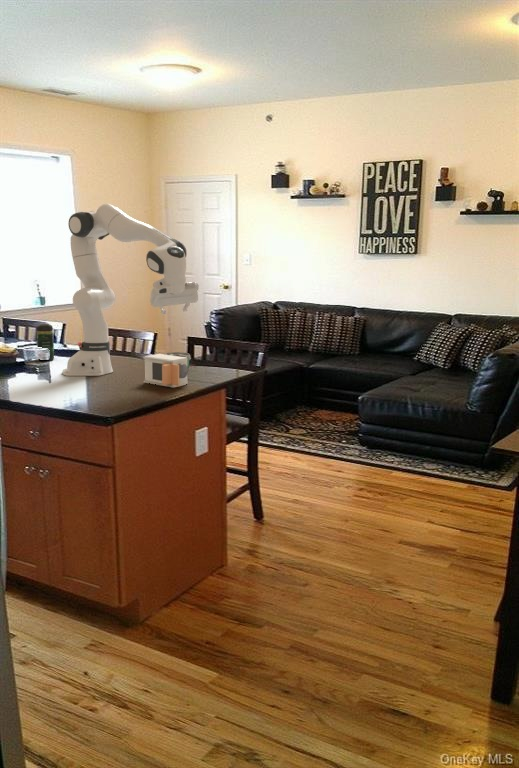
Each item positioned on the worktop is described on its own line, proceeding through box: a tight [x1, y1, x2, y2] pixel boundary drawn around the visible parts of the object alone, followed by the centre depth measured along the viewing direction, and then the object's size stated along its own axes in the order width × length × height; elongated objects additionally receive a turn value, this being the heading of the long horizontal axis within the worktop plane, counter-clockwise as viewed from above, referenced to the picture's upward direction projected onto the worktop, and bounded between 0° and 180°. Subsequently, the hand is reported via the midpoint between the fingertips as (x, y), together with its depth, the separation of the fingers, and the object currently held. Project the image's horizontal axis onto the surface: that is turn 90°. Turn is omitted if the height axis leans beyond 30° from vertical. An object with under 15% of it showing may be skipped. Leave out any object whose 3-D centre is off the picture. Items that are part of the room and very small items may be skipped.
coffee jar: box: [36, 322, 55, 361], centre depth 327 cm, size 10×8×19 cm
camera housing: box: [142, 353, 189, 388], centre depth 274 cm, size 18×10×12 cm, turn 55°
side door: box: [162, 363, 180, 387], centre depth 265 cm, size 8×5×8 cm, turn 55°
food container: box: [165, 351, 192, 377], centre depth 295 cm, size 12×6×10 cm, turn 65°
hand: (174, 311), depth 279 cm, fingers open, 8 cm apart
